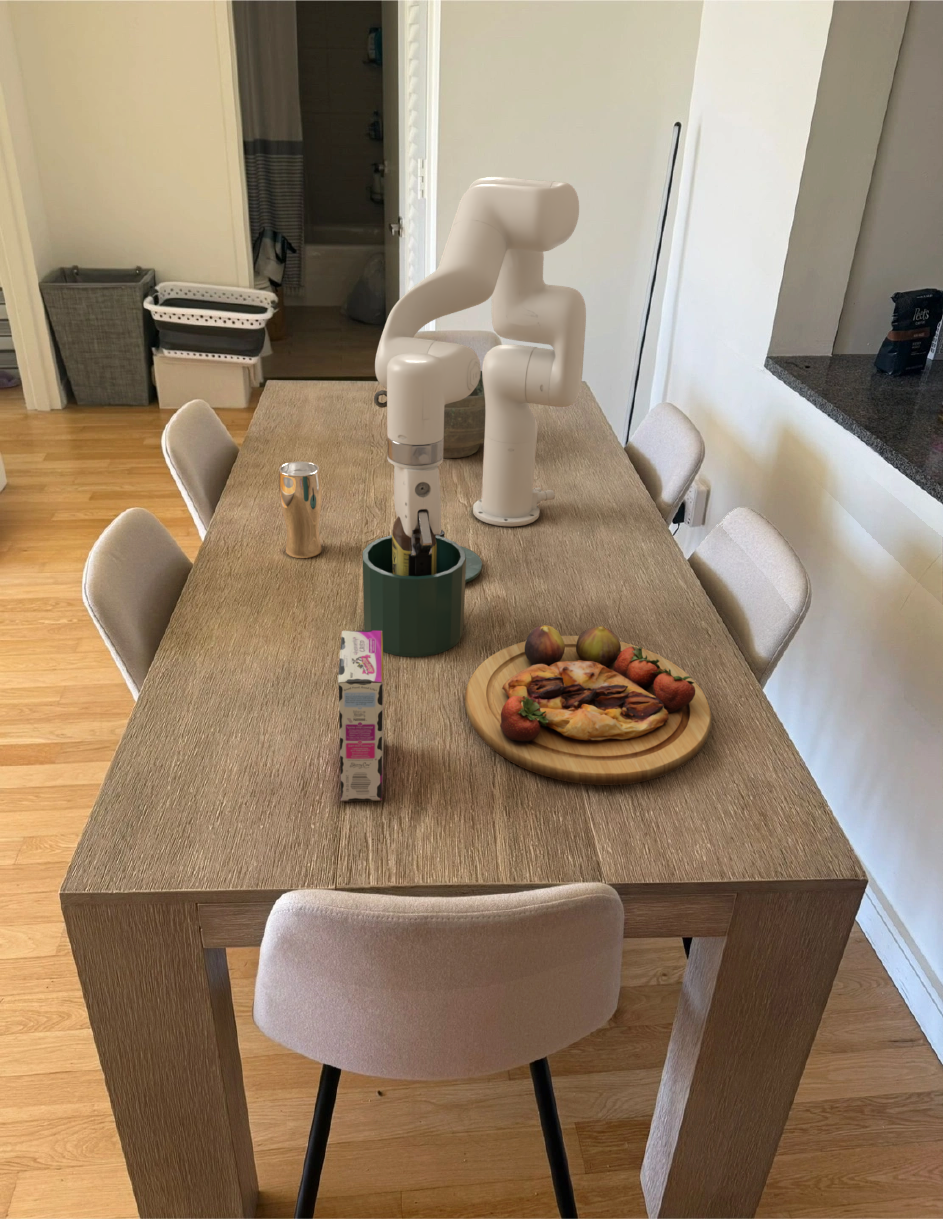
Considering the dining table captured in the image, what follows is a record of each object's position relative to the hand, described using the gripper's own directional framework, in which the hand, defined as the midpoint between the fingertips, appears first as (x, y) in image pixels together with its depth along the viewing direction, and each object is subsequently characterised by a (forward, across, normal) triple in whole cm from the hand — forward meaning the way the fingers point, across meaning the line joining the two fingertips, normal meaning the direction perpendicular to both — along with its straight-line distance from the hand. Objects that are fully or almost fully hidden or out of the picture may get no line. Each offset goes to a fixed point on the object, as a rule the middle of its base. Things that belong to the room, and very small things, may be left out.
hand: (414, 567), depth 136 cm
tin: (+11, 0, 0) cm, 11 cm away
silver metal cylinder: (+11, +30, +13) cm, 34 cm away
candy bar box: (+11, -31, +13) cm, 35 cm away
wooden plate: (+11, -25, -18) cm, 32 cm away
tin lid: (+10, +19, -8) cm, 23 cm away
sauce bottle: (+7, 0, 0) cm, 7 cm away
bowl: (+11, +76, -24) cm, 80 cm away
